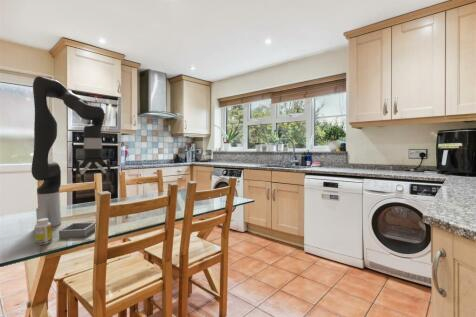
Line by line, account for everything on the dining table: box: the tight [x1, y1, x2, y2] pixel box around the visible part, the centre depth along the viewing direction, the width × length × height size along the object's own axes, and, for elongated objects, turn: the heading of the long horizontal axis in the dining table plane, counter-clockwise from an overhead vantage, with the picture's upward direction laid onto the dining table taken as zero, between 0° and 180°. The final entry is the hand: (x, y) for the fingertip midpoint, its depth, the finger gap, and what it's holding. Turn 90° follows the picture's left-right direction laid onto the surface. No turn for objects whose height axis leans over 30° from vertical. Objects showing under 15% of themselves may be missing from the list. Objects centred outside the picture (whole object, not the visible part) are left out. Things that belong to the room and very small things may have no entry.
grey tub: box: [58, 221, 97, 239], centre depth 119 cm, size 11×11×4 cm
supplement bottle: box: [34, 218, 53, 246], centre depth 108 cm, size 6×6×10 cm
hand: (94, 181), depth 120 cm, fingers open, 8 cm apart
